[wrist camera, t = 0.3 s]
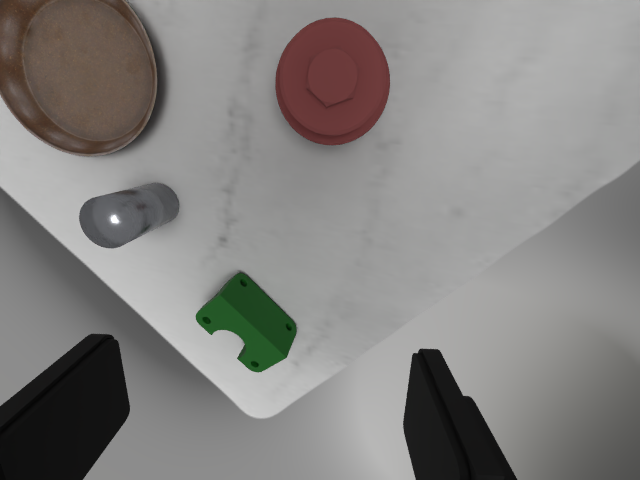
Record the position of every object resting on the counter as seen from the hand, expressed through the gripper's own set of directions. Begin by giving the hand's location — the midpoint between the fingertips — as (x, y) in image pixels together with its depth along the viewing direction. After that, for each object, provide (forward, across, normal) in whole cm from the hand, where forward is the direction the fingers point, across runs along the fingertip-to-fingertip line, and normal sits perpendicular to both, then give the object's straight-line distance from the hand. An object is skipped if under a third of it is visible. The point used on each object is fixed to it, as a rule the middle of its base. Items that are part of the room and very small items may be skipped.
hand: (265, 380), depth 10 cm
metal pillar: (+31, +19, +1) cm, 36 cm away
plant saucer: (+31, +25, -14) cm, 42 cm away
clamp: (+31, +8, +16) cm, 36 cm away
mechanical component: (+31, -2, -12) cm, 33 cm away
